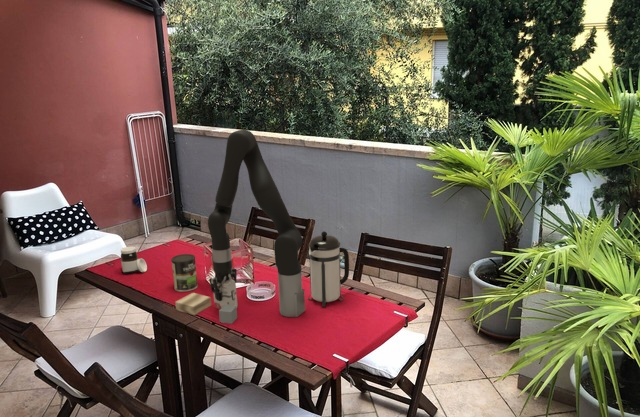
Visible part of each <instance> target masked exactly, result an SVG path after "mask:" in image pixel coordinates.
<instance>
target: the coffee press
mask: <svg viewBox="0 0 640 417" xmlns="http://www.w3.org/2000/svg"><path fill="white" fill-rule="evenodd" d="M308 248H309V250H308V255H309V283H310V288H309V289H310V294H309V295H308V298H307V300H309V301H312V300H314V301H317V302H319V303H321V304H322V305H321V306H322V308H326V307H327V303H331V302H334V301H336V300H339V301H340V302H343V301H344V299H345V298H344V296H343V295H342V290H341V288H342V284H344V283H346V282H347V280H348V279H349V276H350V254H349V251H348V250H347V249H346V248H345V247H341V242H340V241H339V239H338V238H337V237H335V236H332V235H328V233H327V232H326V231H322V232H321V234H320V235H317V236H315V237H313V238H311V239H310V241H309V243H308ZM341 253H343V257H344V258H343V260H344V266H343V267H344V272H343V273H344V275H343V277H342V278H341ZM310 296H311V298H310ZM340 297H341V298H342V299H341V298H340Z"/></svg>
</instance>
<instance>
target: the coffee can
mask: <svg viewBox="0 0 640 417" xmlns="http://www.w3.org/2000/svg"><path fill="white" fill-rule="evenodd" d="M170 261H171V268H172V276H173V285H174V290H175V291H176V292H181V293H183V292H185V293H187V292H190V291H193V290H196V289H197V288H198V287H199V285H198V278H197V275H198V274H197V267H196V265H197V264H196V256H195V255H194V254H190V253H184V254H178V255H175V256H173V257H172V258H171V259H170Z"/></svg>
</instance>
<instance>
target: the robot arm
mask: <svg viewBox="0 0 640 417" xmlns="http://www.w3.org/2000/svg"><path fill="white" fill-rule="evenodd" d="M243 163H244V165H245V167H246V169H247V173H248V179H249V180H248V181H249V185H250V189H251V192H252V195H253V196H254V199H255V200H256V203H257V205H258V206H259V208H260V209H261V211H263V213H264V214H265V215H266V216H268V217H269V219H270V220H271V221H272V223H273V225H274V226H275V228H276V229H275V230H276V231H277V233H278V236H277V238H276V239H274V248H273V249H274V250H273V251H274V252H273V253H274V260H275V266H276V269H277V280H278V299H279V300H278V302H279V303H278V305H279V313H280V315H281V316H284V317H287V318H288V317H289V318H290V317H291V318H293V317H295V318H298V317H299V316H300V315H302V314H303V313H304V312H306V300H305V298H306V297H305V289H304V288H303V278H302V276H303V275H302V264H301V262H299V253H298V251H299V250H300V249H301V248H302V246H303V236H302V234H301V233H300V230H298V228H297V226H296V224H295V222H294V221H293V219H292V218H291V216H290V214H289V211H288V209H287V207H286V205H285V204H286V203H285V202H284V201H283V199H282V196H281V193H280V191H279V188H278V187H277V184H276V183H275V181H274V179H273V176H272V174H271V173H270V171H269V168H268V167H267V165H266V162H265V161H264V158H263V155H262V153H261V150H260V147H259V144H258V141H257V139H256V136H255V134H253V132H252V131H250V130H247V129H238V130H235V131H233V132H232V133H230V134H229V135H228V137H227V140H226V148H225V157H224V163H223V168H222V173H221V178H220V181H219V184H218V188H217V191H216V195H215V205H214V209H213V211H212V212H211V213H210V214H209V216H208V217H207V228H208V231H209V234H210V237H211V250H212V251H211V255H212V256H211V259H212V269H213V271H214V273H215V275H214V277H212V278H210V279H209V284H210V290H211V292H212V293H213V292H215V293H216V299H217V300H218V301H222V292H221V291H222V287H223V284H224V282H226V281H228V280H234V281H235V283H237V279H238V278H237V271H238V270H237V268H234V267H233V258H232V257H233V256H232V249H231V241H230V240H231V239H230V234H229V233H228V232H227V226H226V225H227V224H228V223H229V222H230V219H231V216H232V210H233V204H234V202H235V198H236V195H237V191H238V186H239V178H240V177H239V176H240V169H241V167H242V164H243ZM218 282H219V283H221V285H220V284H218ZM218 287H219V289H218ZM214 288H215V289H214Z"/></svg>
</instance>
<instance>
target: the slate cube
mask: <svg viewBox="0 0 640 417" xmlns="http://www.w3.org/2000/svg"><path fill="white" fill-rule="evenodd" d="M237 308H238V307H237ZM237 308H236V306H228V305H224V306H223V307H222V308H221V309H218V315H219V316H218V317H219V323H220V322H221V323H222V324H230V325H231V324H233V323H235V321H236V320H237V319H238V311H237V310H238V309H237Z"/></svg>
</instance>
